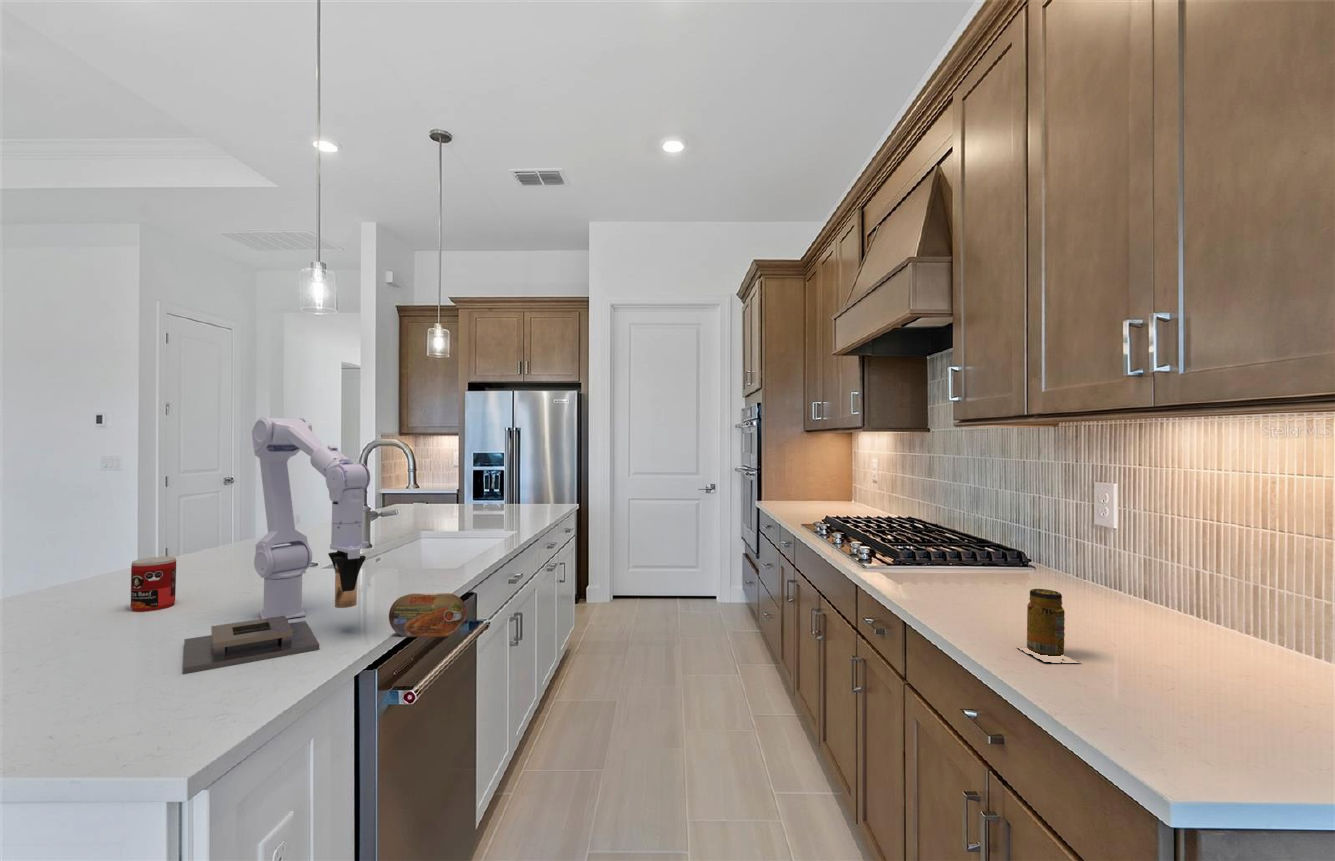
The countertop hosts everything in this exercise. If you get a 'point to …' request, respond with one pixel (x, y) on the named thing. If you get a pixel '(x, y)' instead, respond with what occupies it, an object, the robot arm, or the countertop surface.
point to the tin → (427, 615)
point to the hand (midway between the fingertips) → (346, 588)
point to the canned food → (153, 583)
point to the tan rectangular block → (344, 594)
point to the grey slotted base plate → (247, 643)
